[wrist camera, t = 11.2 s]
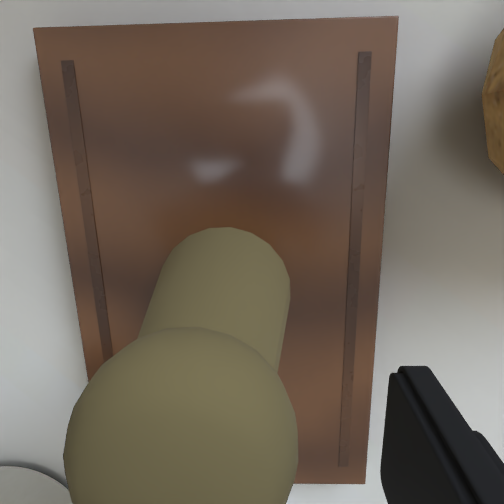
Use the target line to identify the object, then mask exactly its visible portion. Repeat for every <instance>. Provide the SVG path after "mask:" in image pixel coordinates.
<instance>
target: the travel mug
mask: <svg viewBox="0 0 504 504" xmlns="http://www.w3.org/2000/svg"><path fill="white" fill-rule="evenodd" d="M0 504H73V503H72V501H71V497H70V493H69V490H68V489H67V488H65V487H64V486H63V485H62V484H60V483H59V482H58V481H56V480H54V479H53V478H51V477H49V476H47V475H45V474H43V473H40V472H38V471H35V470H31V469H28V468H23V467H15V466H0Z"/></svg>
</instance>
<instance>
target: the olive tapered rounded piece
mask: <svg viewBox="0 0 504 504" xmlns="http://www.w3.org/2000/svg"><path fill="white" fill-rule="evenodd" d="M289 304H290V278H289V275H288V273H287V270H286V268H285V265H284V262H283V260H282V259H281V258H280V256H279V255H278V254H277V253H276V252H275V250H274V249H273V248H272V247H271V245H270V244H268V243H267V242H265V241H264V240H262V239H261V238H259V237H257V236H256V235H254V234H253V233H251V232H247V231H243V230H239V229H236V228H232V227H221V228H208V229H205V230H202V231H200V232H197V233H194V234H192V235H189V236H188V237H187V238H185V239H184V240H183V241H182V242H181V243H179V244H178V245H177V246H176V247H174V248H173V250H172V251H171V253H170V255H169V256H168V258H167V259H166V261H165V263H164V264H163V266H162V269H161V272H160V275H159V278H158V281H157V283H156V286H155V289H154V292H153V295H152V298H151V301H150V303H149V306H148V309H147V312H146V315H145V318H144V320H143V323H142V326H141V329H140V332H139V335H138V338H137V339H136V340H135V341H133V342H132V343H130V344H128V345H127V346H126V347H124V348H123V349H122V350H120V351H119V352H118V353H117V354H115V355H114V356H113V357H111V358H110V359H109V360H107V361H106V362H105V363H104V364H102V365H101V366H100V368H99V369H98V370H97V372H96V373H95V374H94V376H93V377H92V378H91V380H90V381H89V383H88V385H87V386H86V388H85V389H84V391H83V393H82V394H81V396H80V398H79V399H78V401H77V403H76V404H75V406H74V408H73V411H72V415H71V418H70V421H69V424H68V428H67V434H66V441H65V447H64V453H63V459H64V467H65V475H66V480H67V484H68V488H69V493H70V497H71V501H72V503H73V504H286V502H287V499H288V496H289V494H290V491H291V488H292V486H293V483H294V480H295V475H296V471H297V466H298V430H297V422H296V415H295V411H294V409H293V406H292V404H291V402H290V399H289V397H288V394H287V392H286V390H285V387H284V385H283V383H282V381H281V379H280V377H279V376H278V374H277V373H278V367H279V362H280V356H281V350H282V344H283V339H284V333H285V327H286V321H287V316H288V310H289Z"/></svg>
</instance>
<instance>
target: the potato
mask: <svg viewBox="0 0 504 504" xmlns="http://www.w3.org/2000/svg"><path fill="white" fill-rule="evenodd" d="M482 103H483V112H484V121H485V131H486V140H487V149H488V158H489V159H490V160H491V161H492V162H493V164H494V165H495V166H496V167H497V168H498V169H499V170H500V171H501V172H502V174H503V175H504V29H503V30H502V31H501V33H500V34H499V35H498V37H497V38H496V39H495V43H494V47H493V51H492V55H491V59H490V63H489V67H488V71H487V75H486V79H485V82H484V86H483V90H482Z"/></svg>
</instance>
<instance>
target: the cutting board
mask: <svg viewBox="0 0 504 504" xmlns="http://www.w3.org/2000/svg"><path fill="white" fill-rule="evenodd" d="M398 19H399V17H398V16H377V17H346V18H316V19H285V20H255V21H225V22H194V23H164V24H133V25H103V26H73V27H42V28H33V32H34V39H35V45H36V51H37V58H38V64H39V70H40V77H41V83H42V90H43V96H44V102H45V109H46V115H47V121H48V128H49V134H50V140H51V147H52V153H53V160H54V166H55V172H56V179H57V185H58V191H59V198H60V204H61V211H62V217H63V223H64V230H65V236H66V242H67V249H68V255H69V261H70V268H71V274H72V281H73V287H74V293H75V300H76V306H77V312H78V319H79V325H80V331H81V338H82V344H83V351H84V357H85V363H86V370H87V376H88V382H89V381H90V380H91V378H92V377H93V376H94V374H95V373H96V372H97V370H98V369H99V368H100V366H101V365H102V364H104V363H105V362H106V361H107V360H109V359H110V358H111V357H113V356H114V355H115V354H117V353H118V352H119V351H120V350H122V349H123V348H124V347H126V346H127V345H128V344H130V343H132V342H133V341H135V340H136V339H137V338H138V335H139V332H140V329H141V326H142V323H143V320H144V318H145V315H146V312H147V309H148V306H149V303H150V301H151V298H152V295H153V292H154V289H155V286H156V283H157V281H158V278H159V275H160V272H161V269H162V266H163V264H164V263H165V261H166V259H167V258H168V256H169V255H170V253H171V251H172V250H173V248H174V247H176V246H177V245H178V244H179V243H181V242H182V241H183V240H184V239H185V238H187V237H188V236H189V235H192V234H194V233H197V232H200V231H202V230H205V229H208V228H221V227H232V228H236V229H239V230H243V231H247V232H251V233H253V234H254V235H256V236H257V237H259V238H261V239H262V240H264V241H265V242H267V243H268V244H270V245H271V247H272V248H273V249H274V250H275V252H276V253H277V254H278V255H279V256H280V258H281V259H282V260H283V262H284V265H285V268H286V270H287V273H288V275H289V278H290V304H289V310H288V316H287V321H286V327H285V333H284V339H283V344H282V350H281V356H280V362H279V367H278V373H277V374H278V376H279V377H280V379H281V381H282V383H283V385H284V387H285V390H286V392H287V394H288V397H289V399H290V402H291V404H292V406H293V409H294V411H295V415H296V422H297V430H298V466H297V471H296V475H295V480H294V483H293V484H365V478H366V464H367V450H368V436H369V423H370V409H371V395H372V381H373V367H374V353H375V339H376V325H377V311H378V297H379V284H380V270H381V256H382V242H383V228H384V214H385V200H386V186H387V172H388V158H389V145H390V131H391V117H392V103H393V89H394V75H395V61H396V47H397V33H398Z"/></svg>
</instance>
